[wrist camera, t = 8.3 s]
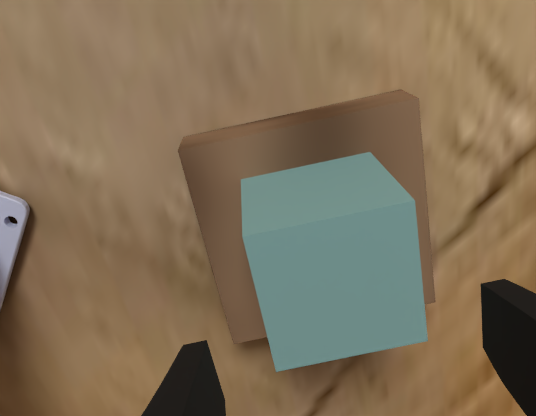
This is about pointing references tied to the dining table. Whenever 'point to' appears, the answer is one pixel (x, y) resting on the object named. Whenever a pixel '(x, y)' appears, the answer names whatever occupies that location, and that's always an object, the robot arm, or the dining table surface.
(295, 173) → the teal cube
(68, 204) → the dining table surface
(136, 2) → the dining table surface
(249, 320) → the walnut base
